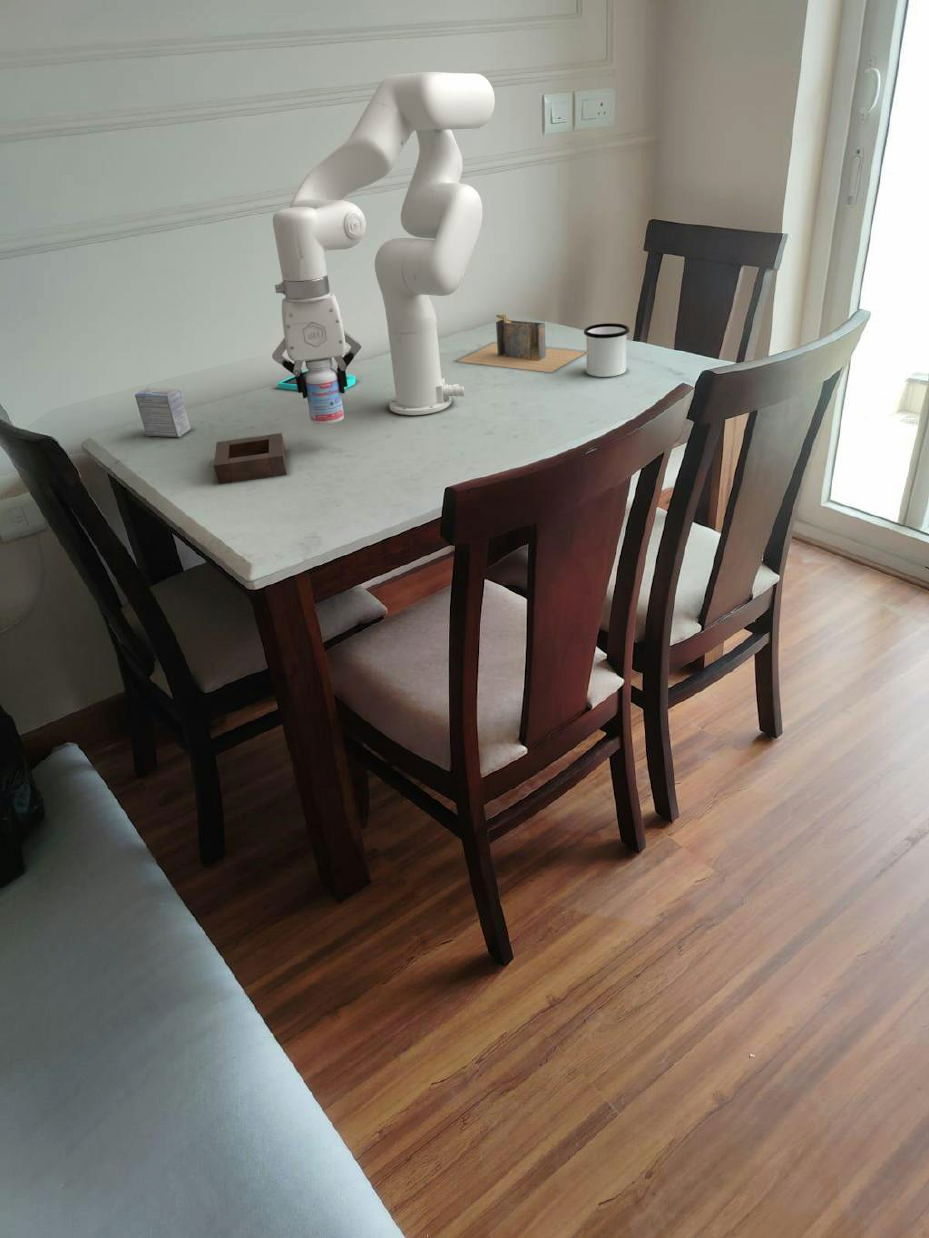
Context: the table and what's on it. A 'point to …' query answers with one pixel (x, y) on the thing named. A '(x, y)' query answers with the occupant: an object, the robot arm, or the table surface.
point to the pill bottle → (323, 392)
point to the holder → (250, 458)
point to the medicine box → (162, 412)
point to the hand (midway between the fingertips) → (323, 392)
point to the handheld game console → (291, 381)
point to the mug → (606, 349)
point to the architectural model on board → (521, 348)
